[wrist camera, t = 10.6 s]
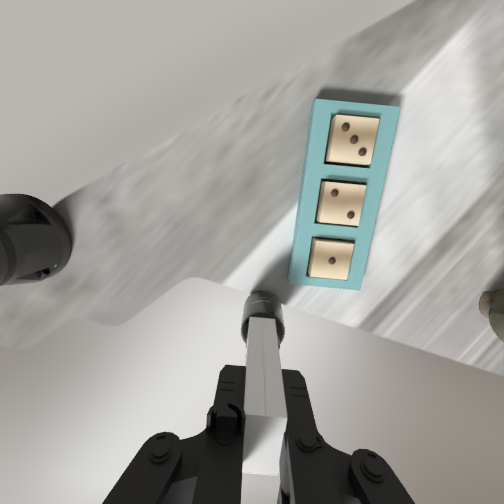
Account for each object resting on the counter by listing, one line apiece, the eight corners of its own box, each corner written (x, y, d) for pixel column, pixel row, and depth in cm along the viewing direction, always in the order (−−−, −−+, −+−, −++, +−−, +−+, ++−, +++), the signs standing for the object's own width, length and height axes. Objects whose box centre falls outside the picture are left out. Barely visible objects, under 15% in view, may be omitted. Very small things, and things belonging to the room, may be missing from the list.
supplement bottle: (263, 282, 46) (265, 315, 34) (288, 307, 47) (298, 348, 35) (236, 305, 47) (229, 345, 36) (260, 329, 48) (261, 375, 37)
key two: (352, 223, 41) (358, 225, 39) (315, 219, 41) (319, 222, 39) (360, 185, 40) (367, 185, 37) (321, 181, 40) (326, 181, 37)
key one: (341, 274, 44) (347, 280, 41) (307, 271, 44) (310, 277, 41) (348, 240, 42) (354, 244, 40) (312, 237, 42) (316, 241, 40)
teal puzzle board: (354, 284, 46) (360, 290, 43) (287, 278, 45) (289, 283, 43) (391, 111, 38) (400, 106, 36) (311, 104, 38) (315, 98, 36)
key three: (363, 165, 39) (370, 164, 37) (324, 161, 39) (329, 160, 37) (371, 122, 38) (380, 118, 35) (331, 118, 38) (337, 114, 35)
